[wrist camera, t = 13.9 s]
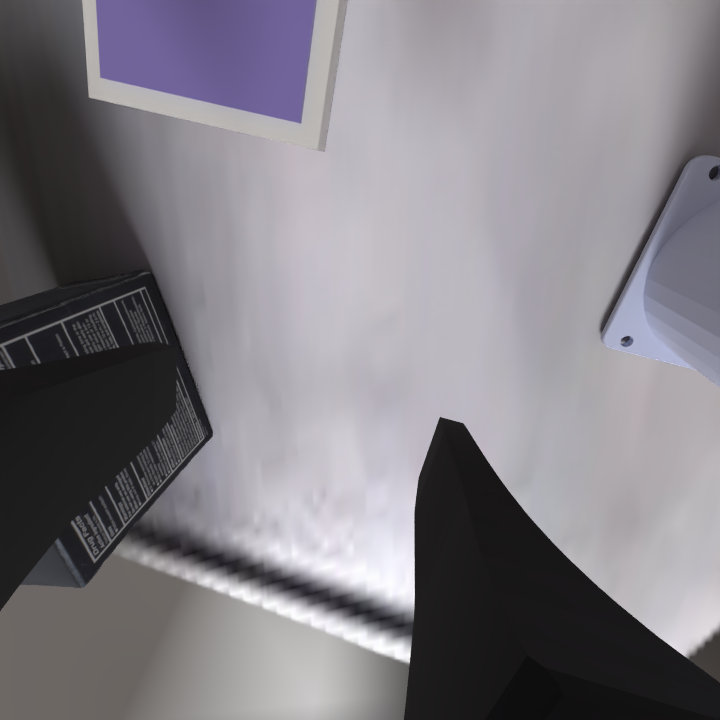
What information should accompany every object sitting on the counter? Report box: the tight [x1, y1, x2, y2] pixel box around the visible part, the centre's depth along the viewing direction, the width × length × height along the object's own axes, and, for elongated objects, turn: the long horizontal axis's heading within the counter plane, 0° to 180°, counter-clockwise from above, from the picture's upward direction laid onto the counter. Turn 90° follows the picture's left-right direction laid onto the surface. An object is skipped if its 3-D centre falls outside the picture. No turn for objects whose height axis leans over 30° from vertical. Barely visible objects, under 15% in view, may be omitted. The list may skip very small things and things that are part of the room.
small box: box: [0, 270, 213, 588], centre depth 19 cm, size 11×6×10 cm, turn 11°
